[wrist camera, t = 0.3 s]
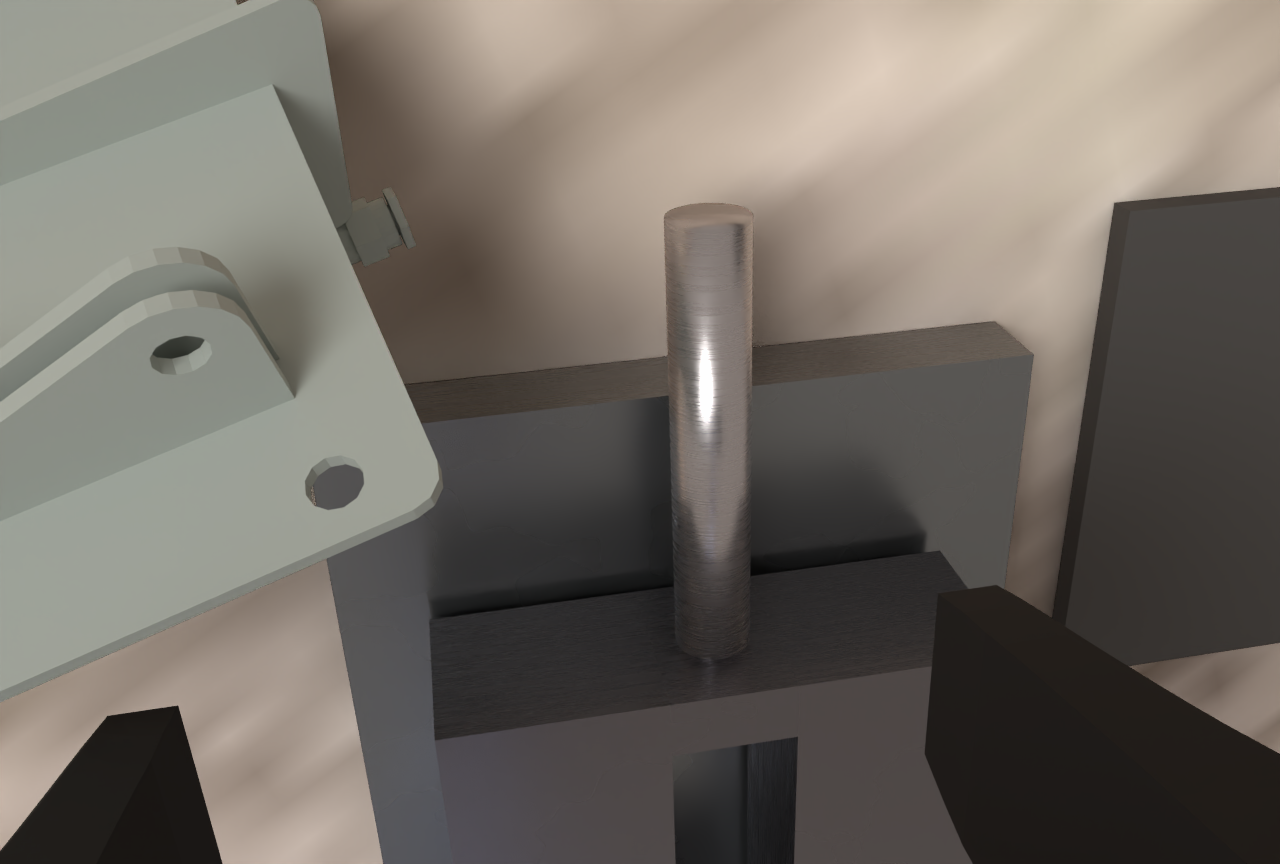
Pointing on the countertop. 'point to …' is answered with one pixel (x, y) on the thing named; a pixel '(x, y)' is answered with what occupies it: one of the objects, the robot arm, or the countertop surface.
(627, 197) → the countertop surface
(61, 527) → the metal bracket
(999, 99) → the countertop surface
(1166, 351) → the key mat
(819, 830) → the grey slotted holder
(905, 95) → the countertop surface
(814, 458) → the base
